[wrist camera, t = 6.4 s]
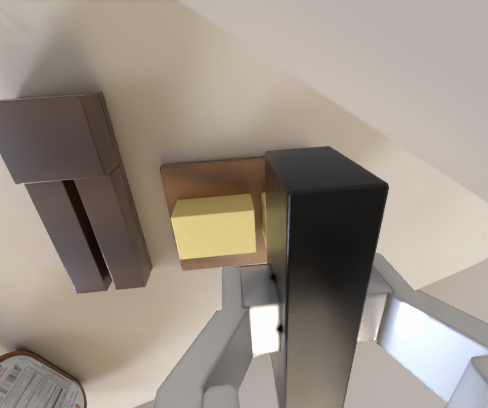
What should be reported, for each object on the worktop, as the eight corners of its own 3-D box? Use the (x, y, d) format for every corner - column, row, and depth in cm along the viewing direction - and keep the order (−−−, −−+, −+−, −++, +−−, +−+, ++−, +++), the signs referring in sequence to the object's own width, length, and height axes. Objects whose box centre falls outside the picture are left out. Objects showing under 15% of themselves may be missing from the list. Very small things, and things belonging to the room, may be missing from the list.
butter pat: (260, 192, 25) (266, 209, 22) (285, 190, 25) (294, 206, 22) (261, 231, 27) (267, 251, 24) (285, 229, 27) (293, 249, 24)
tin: (-5, 345, 33) (-73, 424, 26) (12, 335, 33) (-51, 413, 25) (84, 396, 39) (51, 472, 32) (100, 389, 39) (70, 464, 31)
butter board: (161, 164, 24) (159, 168, 23) (308, 152, 25) (312, 155, 24) (183, 264, 30) (182, 270, 29) (303, 253, 30) (305, 258, 29)
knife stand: (14, 98, 21) (-26, 102, 17) (102, 92, 21) (79, 95, 18) (90, 273, 29) (72, 300, 26) (152, 267, 29) (143, 292, 26)
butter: (177, 199, 25) (170, 217, 22) (250, 193, 25) (254, 210, 22) (184, 238, 27) (179, 259, 24) (252, 232, 27) (256, 252, 24)
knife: (252, 130, 10) (288, 192, 4) (300, 126, 10) (391, 183, 4) (263, 387, 17) (281, 525, 12) (290, 384, 17) (320, 520, 12)
